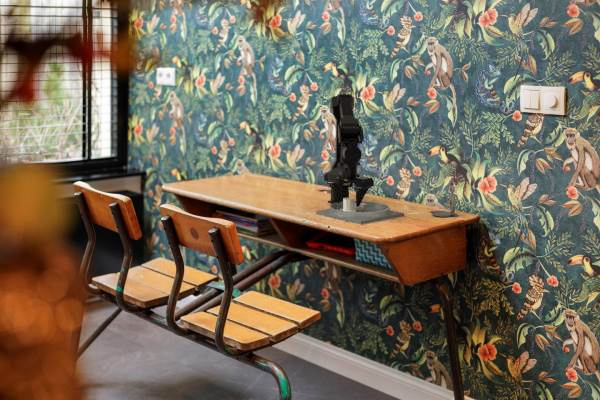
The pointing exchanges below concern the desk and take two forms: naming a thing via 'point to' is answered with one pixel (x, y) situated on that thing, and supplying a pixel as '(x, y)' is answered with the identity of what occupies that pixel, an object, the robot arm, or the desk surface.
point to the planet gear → (348, 205)
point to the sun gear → (360, 207)
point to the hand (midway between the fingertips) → (348, 204)
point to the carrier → (361, 220)
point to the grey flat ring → (350, 214)
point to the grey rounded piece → (451, 207)
